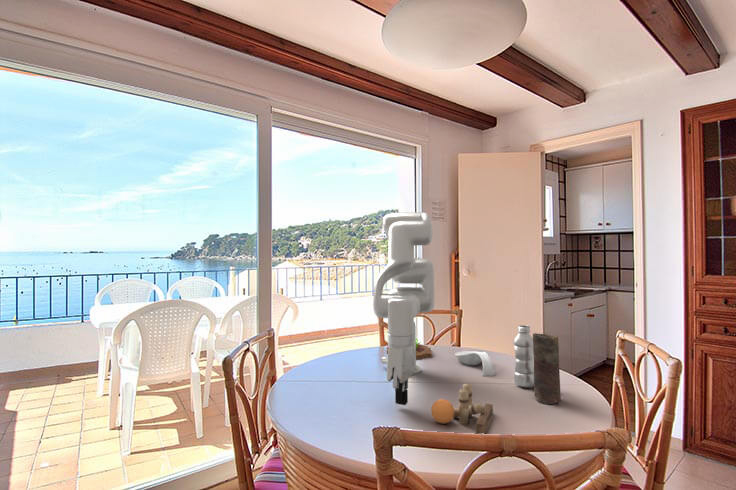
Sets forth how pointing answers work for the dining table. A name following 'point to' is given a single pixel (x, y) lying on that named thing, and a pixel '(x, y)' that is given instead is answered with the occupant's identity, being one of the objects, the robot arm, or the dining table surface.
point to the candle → (546, 368)
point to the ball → (442, 411)
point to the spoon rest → (477, 361)
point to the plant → (421, 351)
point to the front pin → (471, 410)
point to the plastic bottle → (524, 357)
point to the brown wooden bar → (484, 419)
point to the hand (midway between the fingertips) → (401, 403)
